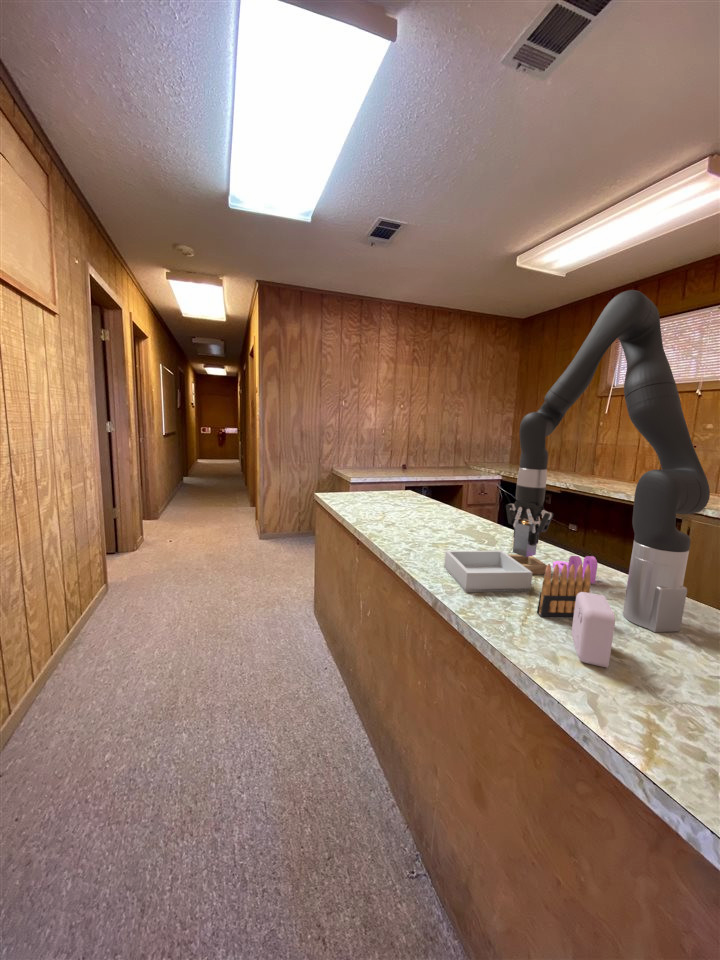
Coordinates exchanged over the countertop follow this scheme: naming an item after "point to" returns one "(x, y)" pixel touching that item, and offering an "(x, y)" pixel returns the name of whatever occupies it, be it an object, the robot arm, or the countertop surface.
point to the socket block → (530, 563)
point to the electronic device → (593, 629)
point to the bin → (487, 571)
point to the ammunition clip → (562, 591)
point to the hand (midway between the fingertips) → (525, 542)
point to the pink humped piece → (577, 561)
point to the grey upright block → (523, 539)
